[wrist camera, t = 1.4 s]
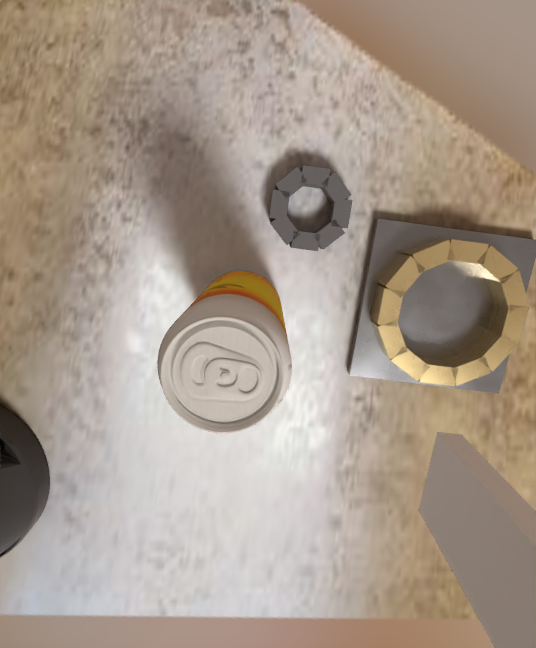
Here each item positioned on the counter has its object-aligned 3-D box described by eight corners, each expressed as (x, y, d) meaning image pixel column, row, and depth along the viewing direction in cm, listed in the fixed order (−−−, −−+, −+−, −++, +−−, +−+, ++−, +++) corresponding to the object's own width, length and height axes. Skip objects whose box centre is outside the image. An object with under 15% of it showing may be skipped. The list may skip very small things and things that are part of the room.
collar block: (347, 371, 34) (354, 384, 31) (375, 218, 31) (385, 218, 28) (493, 389, 34) (513, 403, 31) (533, 239, 31) (558, 241, 29)
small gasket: (265, 243, 31) (265, 244, 30) (275, 164, 30) (276, 161, 29) (339, 253, 32) (343, 254, 30) (352, 175, 30) (357, 172, 29)
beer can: (210, 262, 32) (162, 293, 17) (288, 278, 32) (307, 323, 17) (196, 338, 33) (141, 427, 19) (272, 353, 33) (276, 452, 19)
